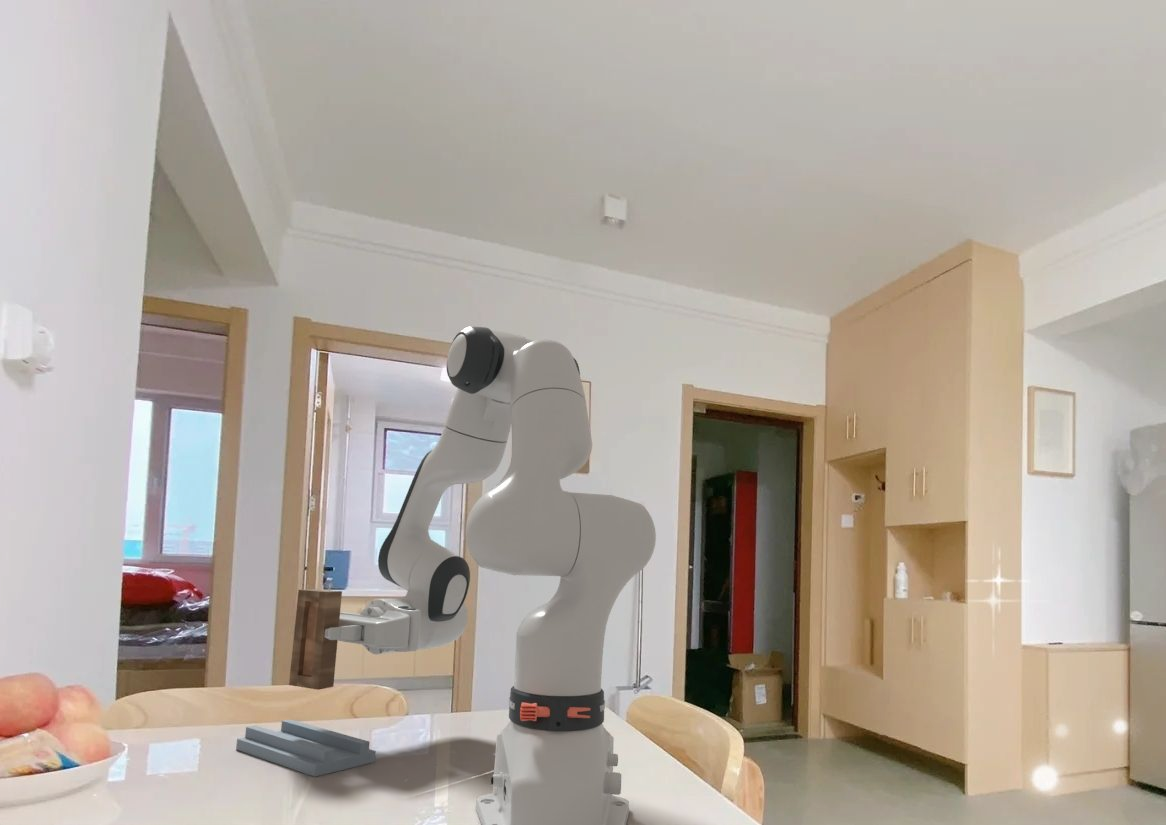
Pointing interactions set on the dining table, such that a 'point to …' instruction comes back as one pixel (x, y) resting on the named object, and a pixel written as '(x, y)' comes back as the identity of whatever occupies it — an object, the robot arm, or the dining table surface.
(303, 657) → the frame
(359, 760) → the picture stand
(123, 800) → the dining table surface
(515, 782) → the robot arm
